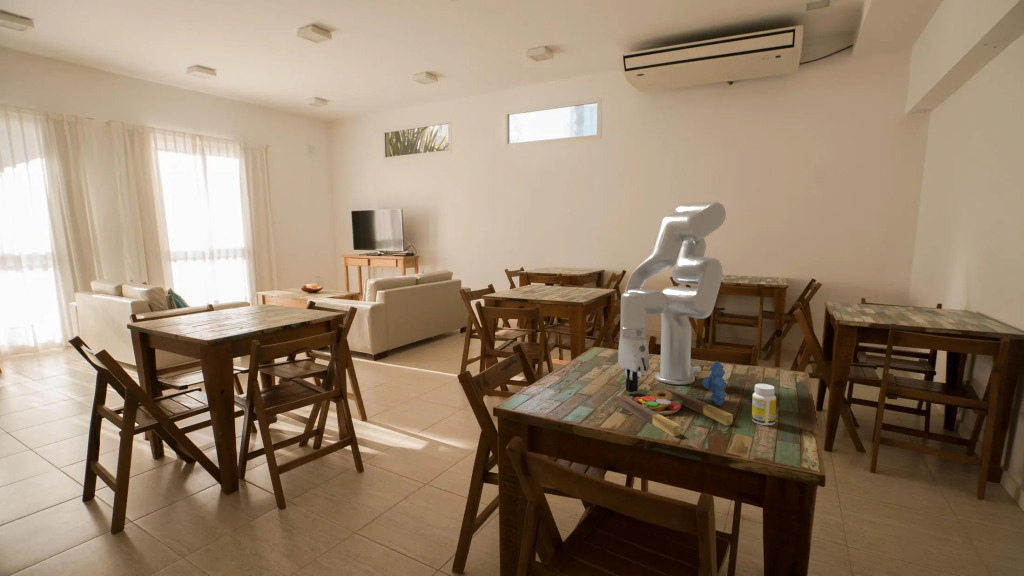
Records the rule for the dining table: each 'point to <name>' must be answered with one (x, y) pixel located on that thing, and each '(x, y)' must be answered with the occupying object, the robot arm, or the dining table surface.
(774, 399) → the supplement bottle
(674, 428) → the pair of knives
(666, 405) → the toy food set
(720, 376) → the grapes
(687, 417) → the dining table surface
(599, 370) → the dining table surface
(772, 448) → the dining table surface
